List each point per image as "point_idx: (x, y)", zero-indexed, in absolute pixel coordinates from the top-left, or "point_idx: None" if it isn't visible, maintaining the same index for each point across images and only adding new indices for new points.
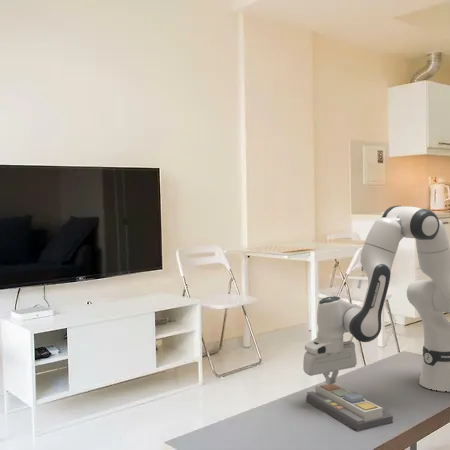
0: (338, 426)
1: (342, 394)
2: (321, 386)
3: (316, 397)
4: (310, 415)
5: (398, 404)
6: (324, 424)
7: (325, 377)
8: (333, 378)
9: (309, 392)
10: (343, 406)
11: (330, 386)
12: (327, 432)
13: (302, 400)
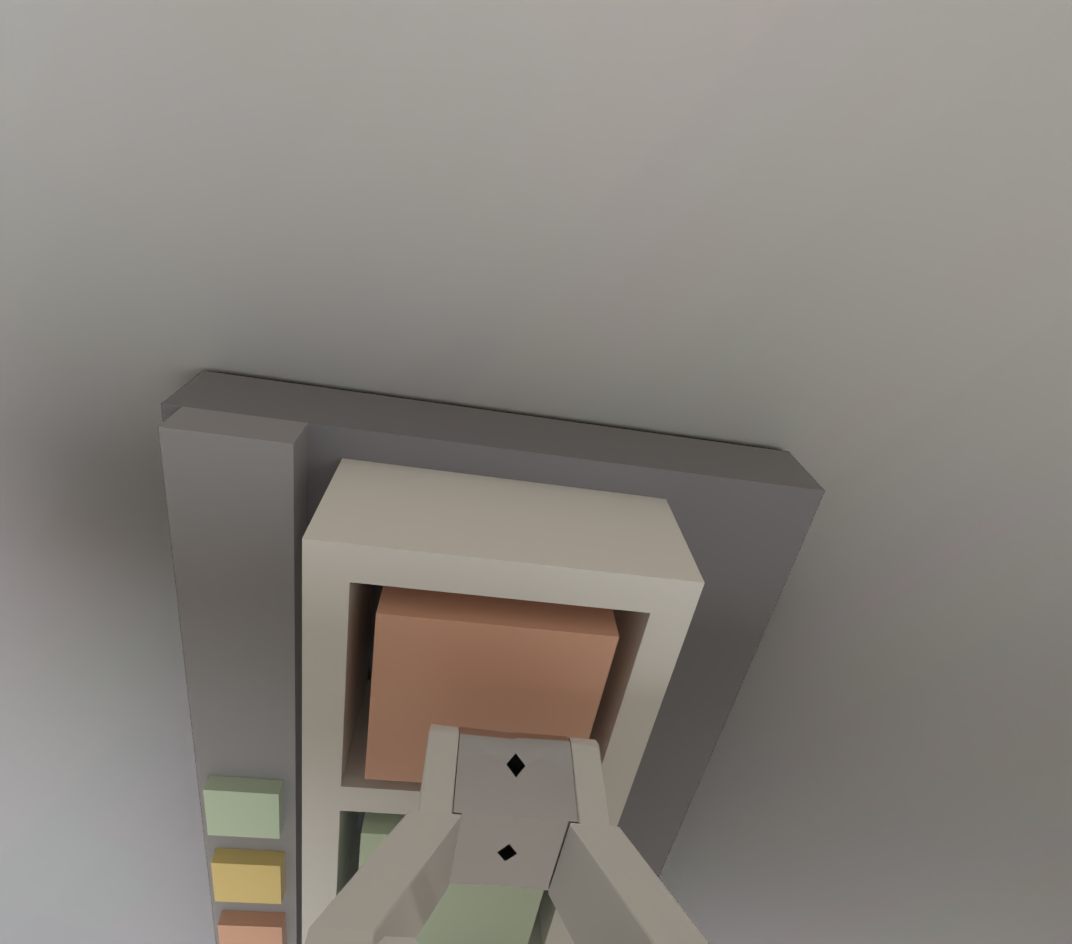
0: (175, 898)
1: None
2: (377, 616)
3: (183, 650)
4: (35, 680)
5: (934, 861)
6: (76, 842)
7: (385, 854)
8: (547, 879)
9: (193, 454)
10: None
11: (503, 704)
12: (24, 921)
13: (174, 296)
